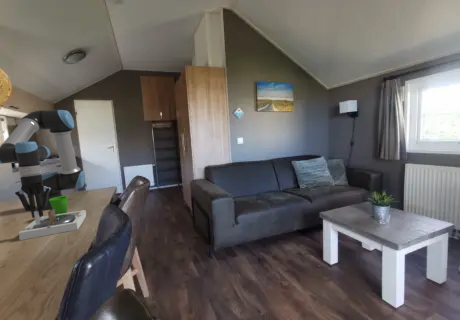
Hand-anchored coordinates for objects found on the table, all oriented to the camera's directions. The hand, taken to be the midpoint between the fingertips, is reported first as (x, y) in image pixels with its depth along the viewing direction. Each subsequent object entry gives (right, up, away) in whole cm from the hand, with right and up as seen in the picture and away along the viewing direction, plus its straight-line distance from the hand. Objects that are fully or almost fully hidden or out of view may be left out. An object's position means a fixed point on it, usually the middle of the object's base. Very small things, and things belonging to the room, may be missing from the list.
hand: (39, 223), depth 106 cm
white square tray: (+2, -4, +8) cm, 10 cm away
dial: (+2, -2, +8) cm, 9 cm away
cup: (-8, -3, +25) cm, 26 cm away
